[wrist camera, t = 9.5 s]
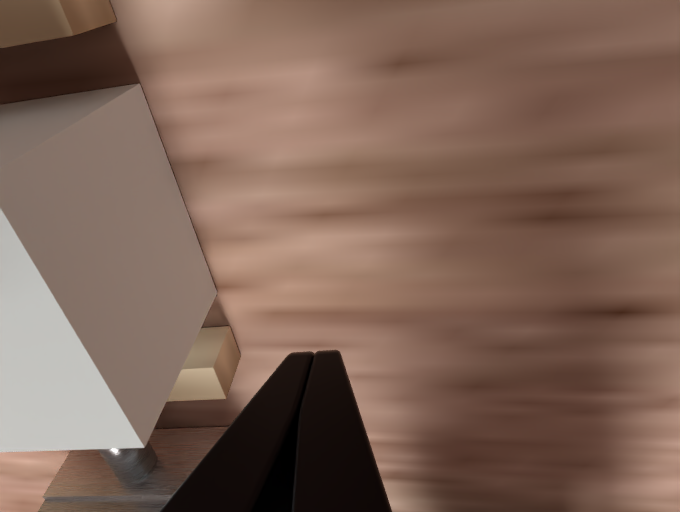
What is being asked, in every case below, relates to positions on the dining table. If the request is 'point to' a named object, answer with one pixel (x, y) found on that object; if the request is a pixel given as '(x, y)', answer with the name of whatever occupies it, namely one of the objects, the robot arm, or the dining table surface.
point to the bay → (71, 19)
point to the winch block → (129, 473)
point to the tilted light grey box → (91, 273)
